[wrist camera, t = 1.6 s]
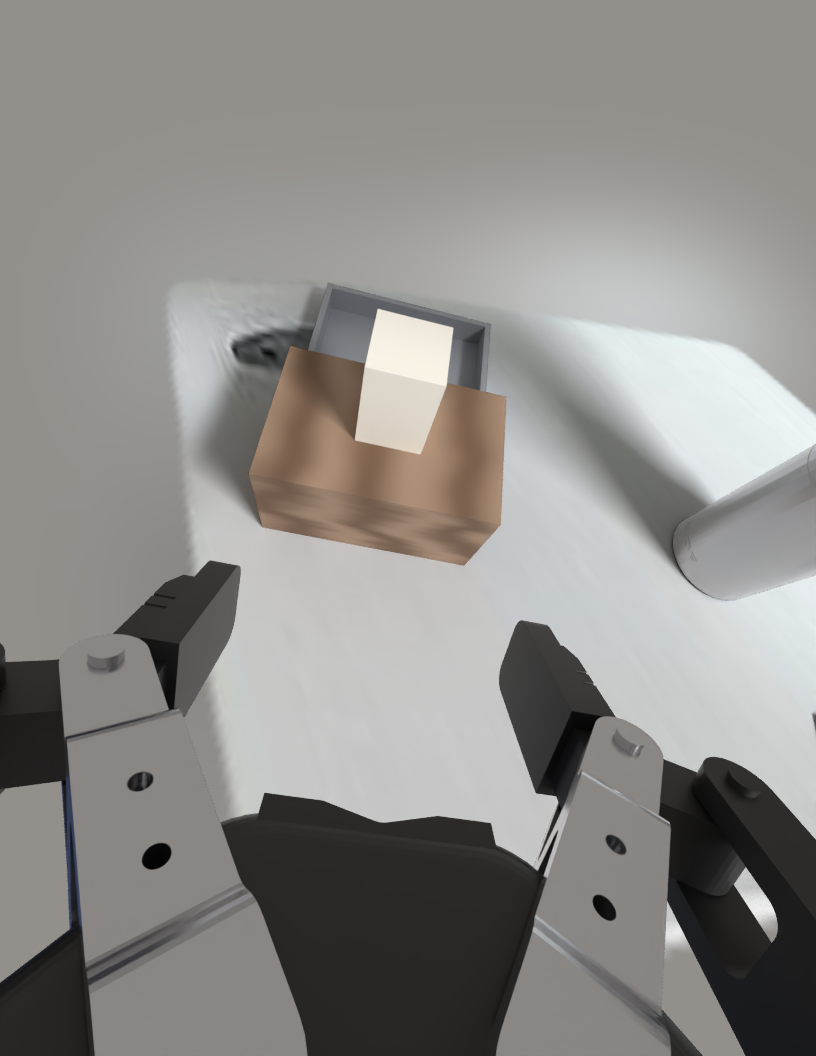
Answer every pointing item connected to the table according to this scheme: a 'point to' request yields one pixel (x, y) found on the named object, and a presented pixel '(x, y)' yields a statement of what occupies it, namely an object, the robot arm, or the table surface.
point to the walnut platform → (377, 467)
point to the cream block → (403, 381)
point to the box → (354, 314)
